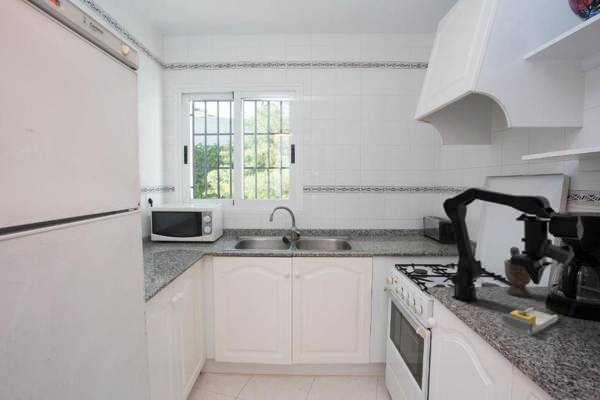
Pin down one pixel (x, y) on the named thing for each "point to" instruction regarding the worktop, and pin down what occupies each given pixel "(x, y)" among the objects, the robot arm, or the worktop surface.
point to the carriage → (524, 316)
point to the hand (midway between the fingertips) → (536, 284)
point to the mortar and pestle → (517, 277)
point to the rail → (526, 326)
